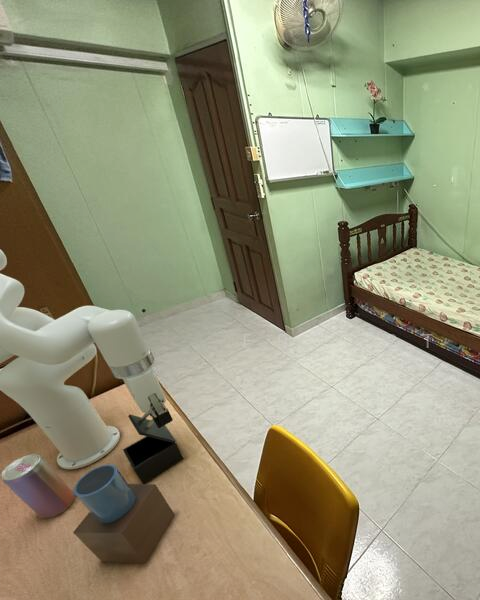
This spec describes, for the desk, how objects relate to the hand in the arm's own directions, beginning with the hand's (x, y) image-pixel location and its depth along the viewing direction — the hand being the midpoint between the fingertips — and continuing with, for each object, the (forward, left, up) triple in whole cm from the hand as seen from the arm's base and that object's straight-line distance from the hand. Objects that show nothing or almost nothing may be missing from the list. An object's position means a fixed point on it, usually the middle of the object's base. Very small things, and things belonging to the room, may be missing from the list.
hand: (161, 417), depth 78 cm
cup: (+12, -18, -1) cm, 21 cm away
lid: (-1, -3, -2) cm, 3 cm away
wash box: (-1, -4, -13) cm, 14 cm away
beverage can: (-12, -20, -13) cm, 27 cm away
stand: (+12, -18, -13) cm, 25 cm away
